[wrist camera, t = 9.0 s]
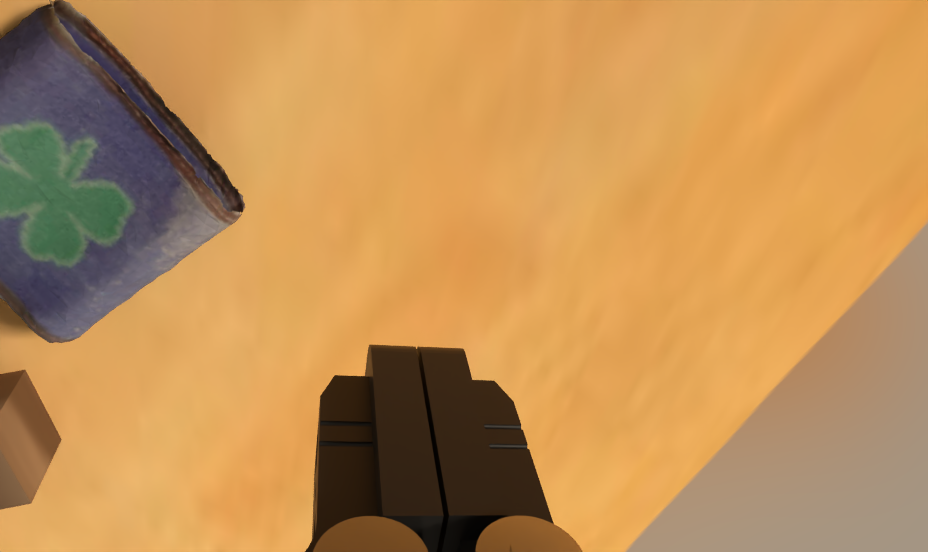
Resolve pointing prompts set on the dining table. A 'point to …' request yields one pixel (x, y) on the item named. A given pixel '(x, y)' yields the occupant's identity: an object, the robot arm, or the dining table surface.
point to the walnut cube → (23, 440)
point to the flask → (92, 177)
